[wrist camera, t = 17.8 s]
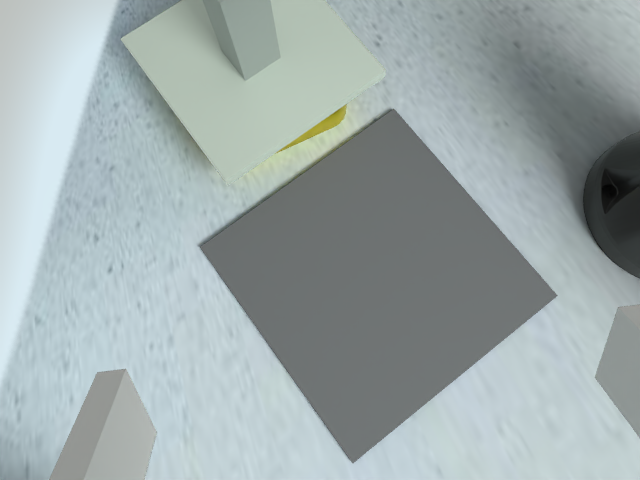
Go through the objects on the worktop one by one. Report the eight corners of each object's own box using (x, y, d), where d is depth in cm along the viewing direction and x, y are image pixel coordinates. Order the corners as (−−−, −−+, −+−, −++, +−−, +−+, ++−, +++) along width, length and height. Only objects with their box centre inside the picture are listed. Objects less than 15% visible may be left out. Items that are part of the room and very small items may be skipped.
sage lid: (275, -48, 46) (258, -166, 35) (384, 77, 43) (402, -12, 32) (125, 46, 44) (59, -49, 33) (228, 185, 41) (191, 130, 30)
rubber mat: (393, 110, 46) (393, 108, 46) (555, 296, 42) (557, 295, 42) (201, 248, 44) (199, 247, 43) (352, 462, 39) (352, 463, 39)
